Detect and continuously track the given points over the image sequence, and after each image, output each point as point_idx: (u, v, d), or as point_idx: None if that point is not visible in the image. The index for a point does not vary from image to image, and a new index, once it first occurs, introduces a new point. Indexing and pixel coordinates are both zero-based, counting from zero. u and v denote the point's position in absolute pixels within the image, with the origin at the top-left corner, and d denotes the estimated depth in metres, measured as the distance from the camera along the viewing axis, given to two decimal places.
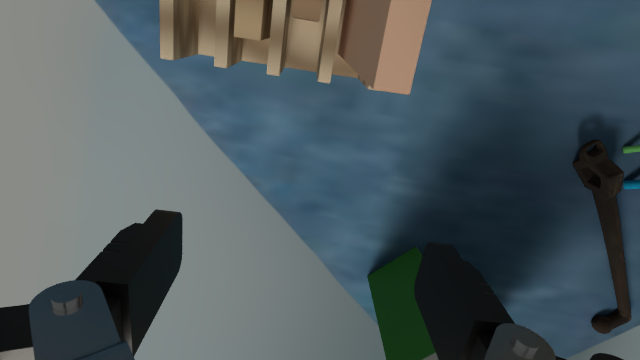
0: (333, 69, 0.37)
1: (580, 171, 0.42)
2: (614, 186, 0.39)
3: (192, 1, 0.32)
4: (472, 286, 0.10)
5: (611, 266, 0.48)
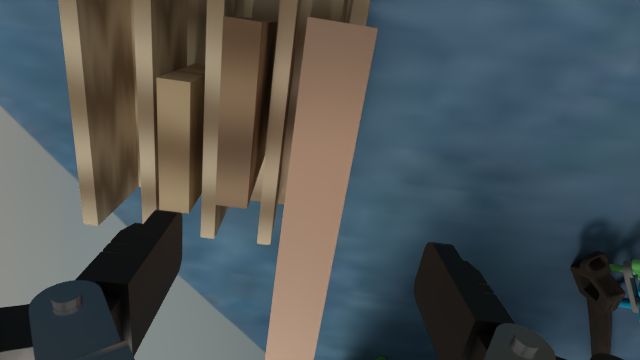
0: (284, 199, 0.34)
1: (577, 277, 0.40)
2: (612, 303, 0.37)
3: (125, 147, 0.30)
4: (472, 286, 0.10)
5: None
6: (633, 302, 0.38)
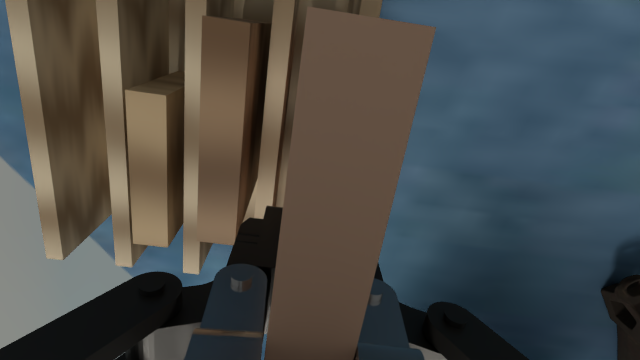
0: None
1: (609, 302, 0.36)
2: None
3: (98, 166, 0.26)
4: None
5: None
6: None
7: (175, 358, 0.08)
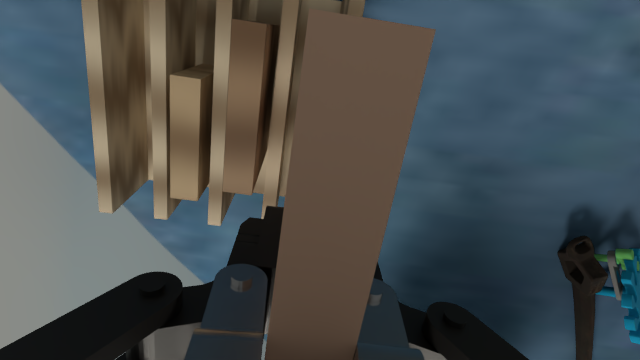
0: None
1: (564, 262, 0.41)
2: (596, 286, 0.38)
3: (136, 141, 0.32)
4: None
5: (577, 356, 0.47)
6: (617, 290, 0.40)
7: (176, 357, 0.08)
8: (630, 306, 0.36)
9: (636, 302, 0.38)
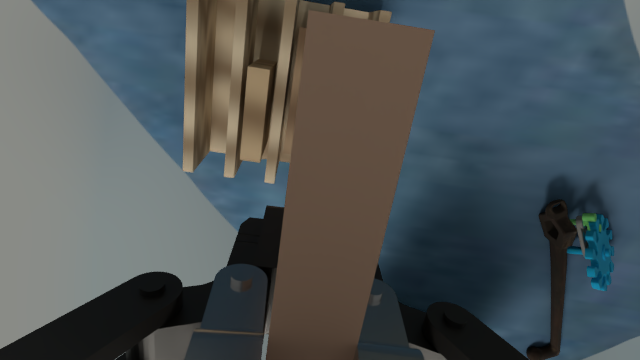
0: None
1: (543, 222, 0.51)
2: (568, 240, 0.47)
3: (206, 118, 0.41)
4: None
5: (552, 306, 0.56)
6: (583, 248, 0.50)
7: (176, 357, 0.08)
8: (591, 257, 0.46)
9: (597, 255, 0.47)
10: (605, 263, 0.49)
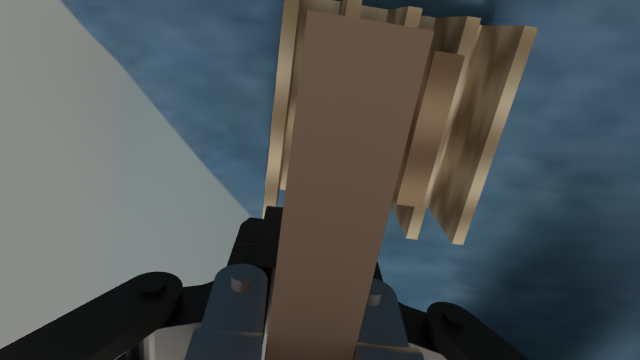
0: None
1: None
2: None
3: (283, 154, 0.34)
4: None
5: None
6: None
7: (176, 358, 0.08)
8: None
9: None
10: None
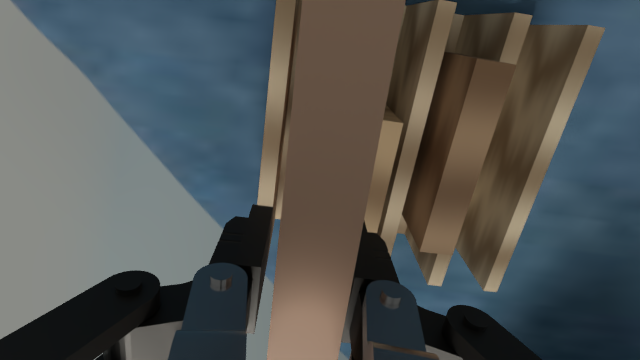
0: None
1: None
2: None
3: (278, 180, 0.28)
4: (366, 251, 0.11)
5: None
6: None
7: (154, 357, 0.08)
8: None
9: None
10: None
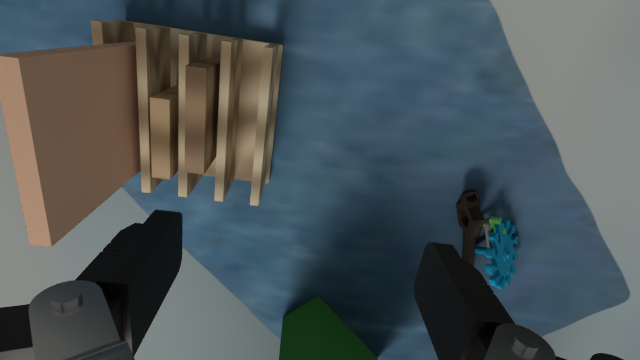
0: (238, 176, 0.50)
1: (459, 211, 0.54)
2: (476, 228, 0.51)
3: None
4: (472, 286, 0.10)
5: None
6: None
7: None
8: (490, 255, 0.50)
9: (497, 255, 0.51)
10: (505, 264, 0.54)
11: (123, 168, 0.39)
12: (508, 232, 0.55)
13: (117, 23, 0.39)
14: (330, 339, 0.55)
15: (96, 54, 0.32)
